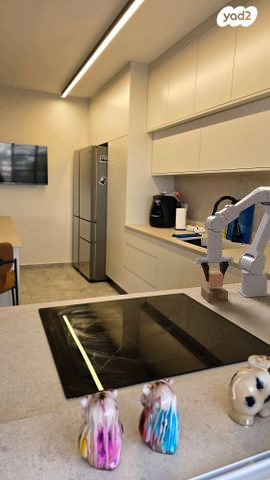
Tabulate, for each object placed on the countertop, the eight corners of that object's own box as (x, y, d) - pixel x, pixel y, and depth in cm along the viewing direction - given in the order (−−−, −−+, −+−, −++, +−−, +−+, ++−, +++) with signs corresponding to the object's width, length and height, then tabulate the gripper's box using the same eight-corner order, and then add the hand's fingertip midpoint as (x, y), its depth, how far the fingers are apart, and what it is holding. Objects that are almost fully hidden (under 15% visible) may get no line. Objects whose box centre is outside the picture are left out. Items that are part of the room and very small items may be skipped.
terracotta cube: (218, 282, 132) (218, 270, 131) (222, 286, 127) (222, 273, 126) (206, 283, 132) (206, 271, 131) (209, 287, 127) (210, 274, 126)
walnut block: (219, 294, 135) (219, 285, 134) (227, 301, 127) (228, 291, 127) (201, 296, 134) (201, 286, 133) (208, 302, 126) (208, 292, 126)
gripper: (198, 249, 123) (198, 284, 125) (236, 248, 124) (235, 282, 126) (194, 246, 130) (194, 279, 132) (230, 244, 131) (229, 277, 133)
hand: (214, 280), depth 129 cm, fingers closed on terracotta cube, 5 cm apart
